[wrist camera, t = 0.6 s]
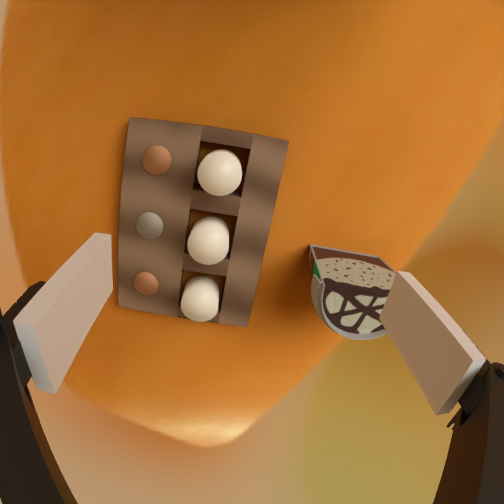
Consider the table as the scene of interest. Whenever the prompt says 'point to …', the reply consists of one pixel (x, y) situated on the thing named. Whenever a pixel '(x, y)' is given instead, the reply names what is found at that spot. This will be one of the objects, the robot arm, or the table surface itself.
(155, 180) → the board
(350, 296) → the food container
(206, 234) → the button mid
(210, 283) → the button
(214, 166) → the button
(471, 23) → the table surface
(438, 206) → the table surface
